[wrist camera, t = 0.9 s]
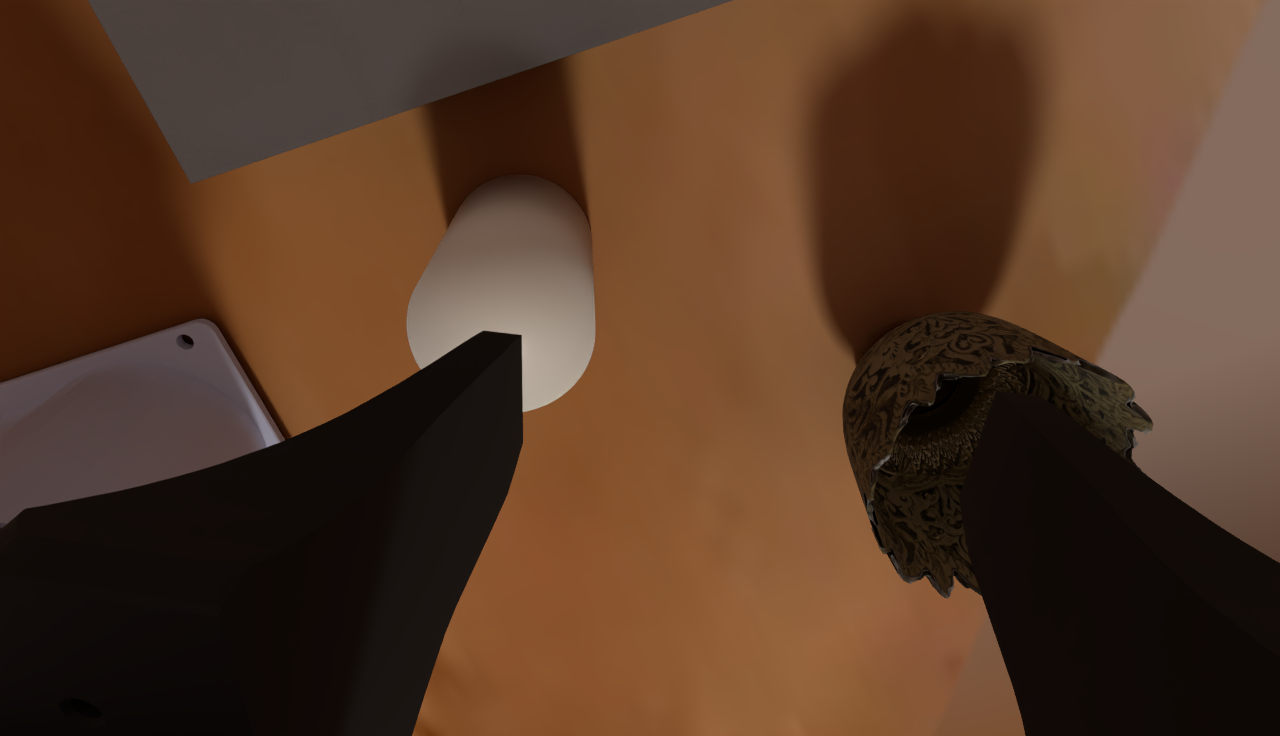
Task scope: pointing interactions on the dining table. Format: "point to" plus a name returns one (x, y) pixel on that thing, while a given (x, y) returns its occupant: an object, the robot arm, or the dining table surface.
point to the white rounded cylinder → (512, 283)
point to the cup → (957, 425)
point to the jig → (337, 61)
